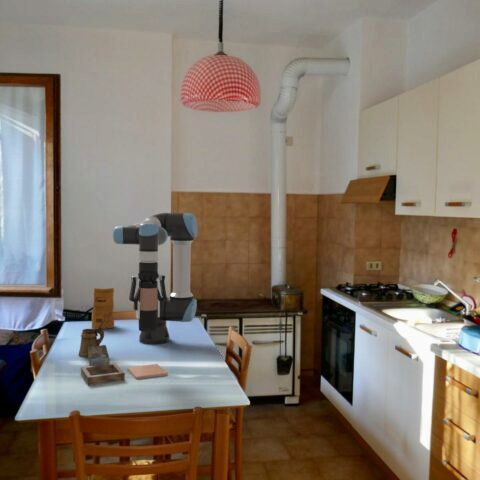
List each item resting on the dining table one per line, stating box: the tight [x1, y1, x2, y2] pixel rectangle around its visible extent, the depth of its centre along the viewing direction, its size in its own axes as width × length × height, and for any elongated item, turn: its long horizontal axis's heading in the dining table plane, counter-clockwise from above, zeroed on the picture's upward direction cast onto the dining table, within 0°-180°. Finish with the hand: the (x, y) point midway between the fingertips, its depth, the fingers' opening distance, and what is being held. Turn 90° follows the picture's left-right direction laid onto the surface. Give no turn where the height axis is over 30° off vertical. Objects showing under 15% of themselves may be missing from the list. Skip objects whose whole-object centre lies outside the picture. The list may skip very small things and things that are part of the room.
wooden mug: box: [78, 316, 109, 358], centre depth 242 cm, size 9×14×18 cm, turn 93°
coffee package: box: [91, 287, 115, 330], centre depth 295 cm, size 10×12×22 cm
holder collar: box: [80, 362, 126, 386], centre depth 210 cm, size 14×14×3 cm
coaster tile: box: [126, 363, 169, 380], centre depth 218 cm, size 13×13×1 cm
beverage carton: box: [87, 344, 110, 366], centre depth 227 cm, size 8×19×7 cm, turn 18°
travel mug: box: [138, 280, 159, 332], centre depth 216 cm, size 8×8×20 cm
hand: (147, 317), depth 216 cm, fingers closed on travel mug, 8 cm apart
